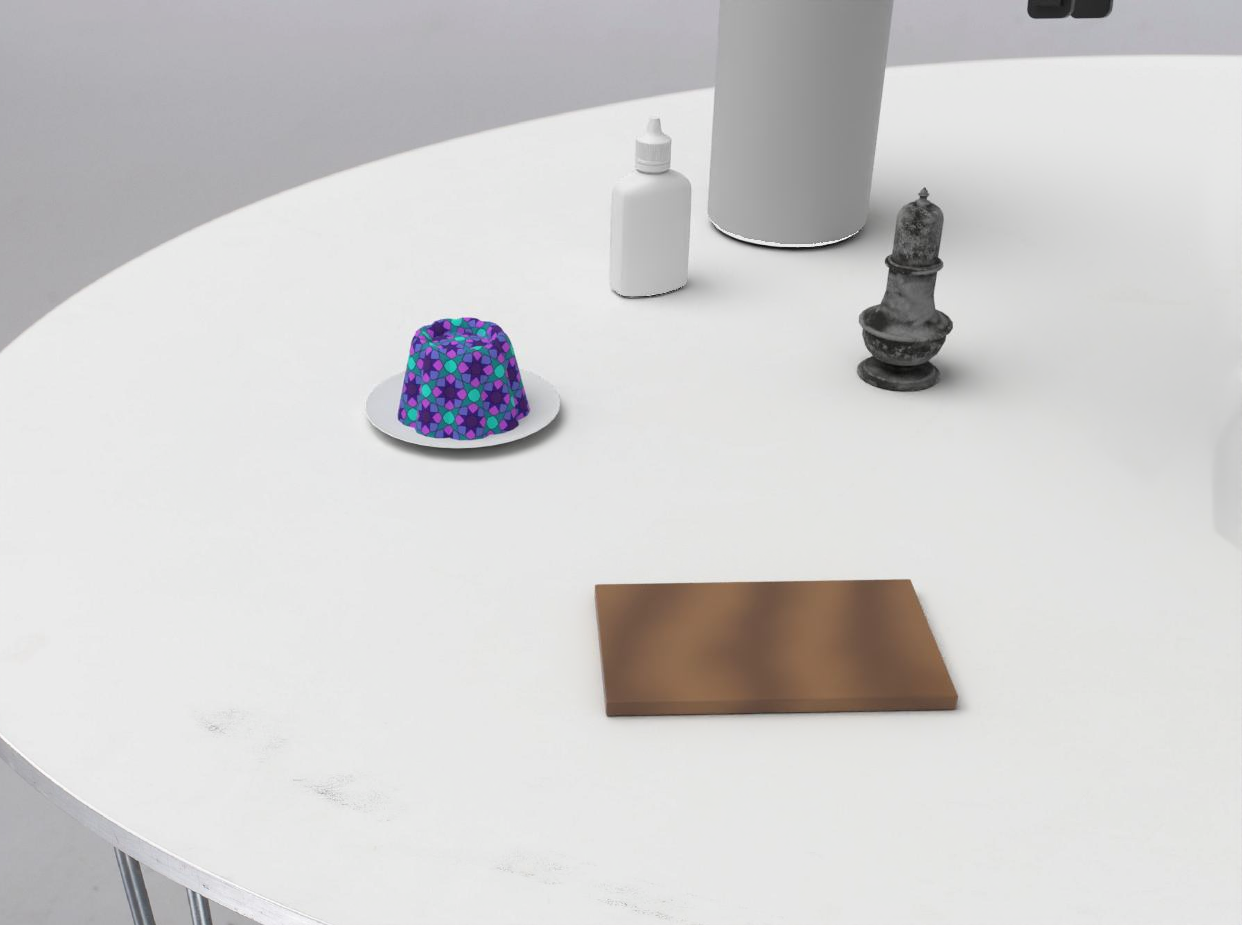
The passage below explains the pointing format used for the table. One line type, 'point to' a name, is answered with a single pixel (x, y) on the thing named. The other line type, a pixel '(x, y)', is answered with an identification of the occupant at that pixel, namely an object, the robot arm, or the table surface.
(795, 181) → the cylinder vase
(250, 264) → the table surface
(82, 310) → the table surface
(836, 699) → the wooden board
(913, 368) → the salt shaker
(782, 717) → the table surface
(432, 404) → the pudding
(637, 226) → the eye dropper bottle
